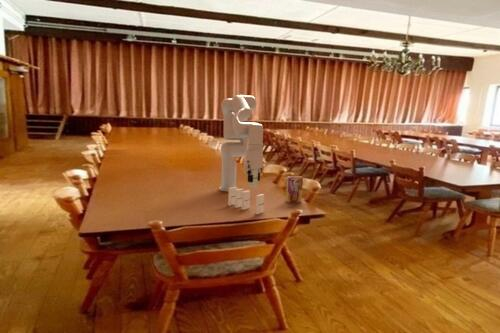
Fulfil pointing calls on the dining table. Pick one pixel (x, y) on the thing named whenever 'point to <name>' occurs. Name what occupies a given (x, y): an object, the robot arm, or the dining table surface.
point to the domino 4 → (260, 203)
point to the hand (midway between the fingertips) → (253, 180)
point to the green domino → (254, 179)
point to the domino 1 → (231, 196)
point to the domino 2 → (238, 197)
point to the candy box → (294, 189)
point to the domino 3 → (245, 200)
